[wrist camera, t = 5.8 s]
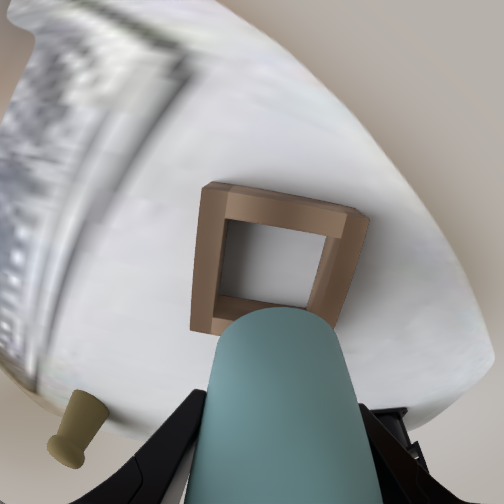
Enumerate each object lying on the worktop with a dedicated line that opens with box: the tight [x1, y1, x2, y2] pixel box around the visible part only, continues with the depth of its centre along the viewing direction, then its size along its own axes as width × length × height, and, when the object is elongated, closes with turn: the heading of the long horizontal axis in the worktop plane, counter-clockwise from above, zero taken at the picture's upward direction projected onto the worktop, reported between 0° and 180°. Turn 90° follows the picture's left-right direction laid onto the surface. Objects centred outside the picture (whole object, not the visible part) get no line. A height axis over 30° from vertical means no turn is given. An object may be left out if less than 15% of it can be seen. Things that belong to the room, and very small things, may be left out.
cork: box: [47, 390, 109, 469], centre depth 23 cm, size 6×6×11 cm
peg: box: [184, 307, 383, 504], centre depth 6 cm, size 5×5×9 cm
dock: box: [190, 182, 370, 336], centre depth 18 cm, size 10×14×4 cm
